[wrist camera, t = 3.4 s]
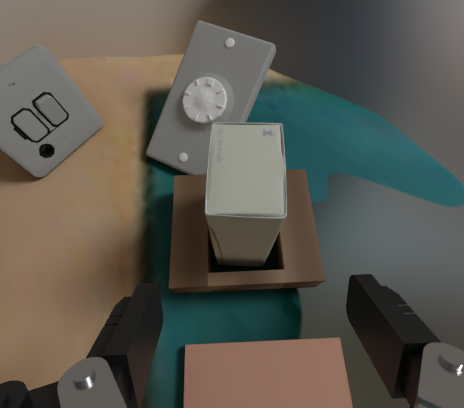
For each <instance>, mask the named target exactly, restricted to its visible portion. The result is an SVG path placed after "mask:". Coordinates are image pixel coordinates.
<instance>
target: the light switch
mask: <svg viewBox="0 0 464 408" xmlns="http://www.w3.org/2000/svg"><path fill="white" fill-rule="evenodd" d="M275 53H276V48H275V45H274V44H273V43H270V42H267V41H263V40H260V39H257V38H254V37H251V36H248V35H244V34H241V33H238V32H235V31H232V30H228V29H225V28H222V27H219V26H216V25H213V24H209V23H206V22H203V21H200V20H199V21H197V23H196V26H195V28H194V31H193V33H192V36H191V38H190V41H189V43H188V46H187V49H186V51H185V54H184V56H183V59H182V61H181V64H180V67H179V69H178V72H177V74H176V77H175V79H174V82H173V85H172V87H171V90H170V92H169V95H168V97H167V100H166V102H165V105H164V108H163V110H162V113H161V115H160V118H159V120H158V123H157V126H156V128H155V131H154V133H153V136H152V138H151V141H150V144H149V146H148V149H147V151H146V155H147V156H149V157H151V158H153V159H155V160H158V161H160V162H162V163H164V164H166V165H169V166H171V167H173V168H175V169H177V170H179V171H182V172H184V173H186V174H188V175H200V174H207V167H208V155H209V145H210V136H211V129H212V124H213V123H214V122H243V123H246V121H247V119H248V116H249V114H250V112H251V109H252V107H253V104H254V102H255V100H256V97H257V95H258V93H259V90H260V88H261V86H262V83H263V81H264V79H265V76H266V74H267V72H268V69H269V67H270V65H271V62H272V60H273V58H274V55H275ZM191 119H192V120H191Z"/></svg>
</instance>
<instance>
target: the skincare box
mask: <svg viewBox="0 0 464 408" xmlns="http://www.w3.org/2000/svg"><path fill="white" fill-rule="evenodd" d="M205 215H206V220H207V223H208V228H209V232H210V236H211V240H212V244H213V248H214V252H215V256H216V260H217V264H219V265H235V266H263V265H264V263H265V261H266V259H267V257H268V255H269V253H270V250H271V248H272V246H273V244H274V242H275V240H276V238H277V235H278V233H279V231H280V229H281V227H282V225H283V223H284V220H285V218H286V216H287V192H286V164H285V149H284V135H283V125H282V123H243V122H214V123H213V124H212V129H211V136H210V145H209V155H208V167H207V181H206V198H205Z"/></svg>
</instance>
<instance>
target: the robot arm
mask: <svg viewBox="0 0 464 408" xmlns="http://www.w3.org/2000/svg"><path fill="white" fill-rule="evenodd" d="M346 311H347V315H348V319H349V321H350V323H351V325H352V327H353V328H354V330H355V332H356V334H357V336H358V338H359V339H360V341H361V343H362V345H363V347H364V348H365V350H366V352H367V354H368V356H369V357H370V359H371V361H372V363H373V365H374V366H375V368H376V370H377V372H378V374H379V375H380V377H381V379H382V381H383V383H384V384H385V386H386V388H387V390H388V392H389V394H390V395H391V397H392V398H406V399H407V401H408V403H409V405H410V406H409V408H464V352H463V351H462V350H460V349H458V348H456V347H454V346H451V345H448V344H444V343H441V342H440V340H439V339H438V338H437V337H436V336H435V335H434V334H433V333H432V332H431V331H430V329H429V328H428V327H427V326H426V325H425V324H424V322H423V321H421V319H420V318H419V317H418V316H417V315H416V314H414V311H413V310H412V309H411V308H410V307H409V306H407V303H406V302H405V301H404V300H403V299H402V298H401V297H400V296H399V294H397V293H396V292H394V291H393V290H391V289H389V288H388V287H387V286H381V285H380V284H379V283H378V282H377V280H376V279H375V278H374V277H373V276H372V275H371V274H363V275H351V276H350V279H349V286H348V296H347V304H346ZM162 324H163V311H162V305H161V299H160V292H159V286H158V284H157V283H143V284H138V285H137V287H136V289H135V291H134V293H133V295H132V297H124V298H123V299H122V300H121V301H120V302H119V303H117V304H116V305H115V307H114V308H113V310H112V312H111V314H110V316H109V318H108V319H107V321H106V323H105V326H104V327H103V328H102V330H101V332H100V334H99V336H98V337H97V339H96V341H95V343H94V345H93V346H92V348H91V350H90V352H89V354H88V355H87V357H86V359H84V360H81V361H79V362H77V363H76V364H74V365H73V366H71V367H70V368H69V369H68V370H67V371H66V372H65V373H64V374H63V376H62V377H61V379H60V380H59V381H58V382H55V383H52V384H49V385H46V386H43V387H39V388H36V389H33V390H30V391H28V390H27V387H26V385H25V384H24V383H23V382H21V381H8V382H4V383H2V384H0V408H139V405H140V401H141V398H142V394H143V391H144V388H145V384H146V381H147V377H148V374H149V370H150V367H151V364H152V360H153V357H154V353H155V350H156V347H157V343H158V340H159V336H160V333H161V329H162Z"/></svg>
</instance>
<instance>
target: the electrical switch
mask: <svg viewBox="0 0 464 408" xmlns="http://www.w3.org/2000/svg"><path fill="white" fill-rule="evenodd" d="M102 126H103V120H102V118H101V117H100V116H99V114H98V113H97V112H96V110H95V109H94V108H93V106H92V105H91V104H90V103H89V101H88V100H87V99H86V97H85V96H84V95H83V94H82V92H81V91H80V90H79V88H78V87H77V86H76V84H75V83H74V82H73V81H72V79H71V78H70V77H69V75H68V74H67V73H66V72H65V70H64V69H63V68H62V66H61V65H60V64H59V62H58V61H57V60H56V59H55V57H54V56H53V55H52V53H51V52H50V51H49V50H48V49H47V48H46V47H43V46H41V45H39V44H35V45H33V46H31V47H30V48H28V49H27V50H25V51H24V52H22V53H21V54H19V55H18V56H16V57H15V58H13V59H12V60H10V61H8V62H7V63H6V64H4V65H2V66H1V67H0V149H1V150H2V151H3V152H5V153H6V154H7V155H9V156H10V157H11V158H12V159H14V160H15V161H16V162H17V163H19V164H20V165H21V166H22V167H23V168H24V169H25V170H27V171H28V172H29V173H30V174H32V175H33V176H35V177H40V178H41V177H44V176H46V175H47V174H48V173H49V172H50V171H52V170H53V169H54V168H55V167H56V166H57V165H58V164H60V163H61V162H62V161H63V160H64V159H65V158H67V157H68V156H69V155H70V154H71V153H72V152H74V151H75V150H76V149H77V148H78V147H79V146H80V145H82V144H83V143H84V142H85V141H86V140H87V139H89V138H90V137H91V136H92V135H93V134H94V133H96V132H97V131H98V130H99V129H100V128H101V127H102Z"/></svg>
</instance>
